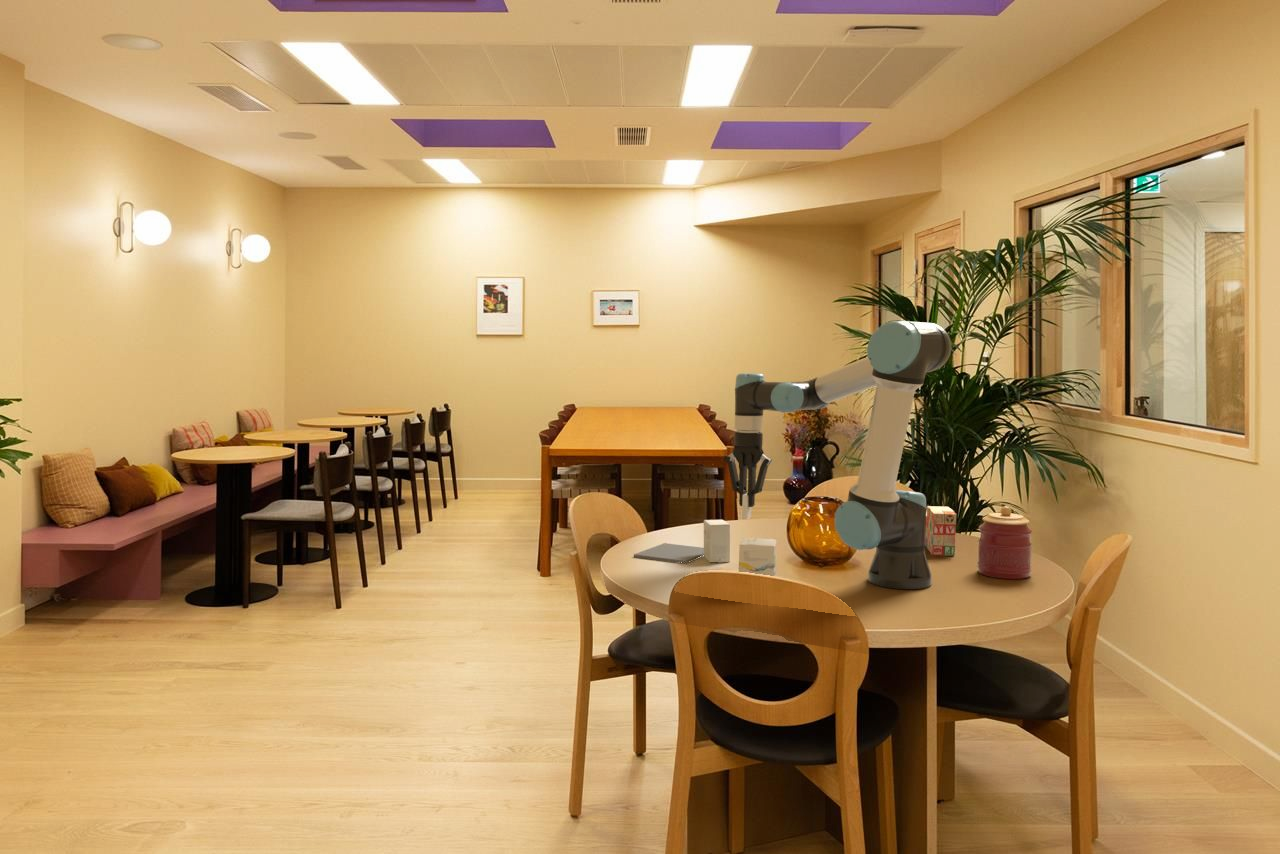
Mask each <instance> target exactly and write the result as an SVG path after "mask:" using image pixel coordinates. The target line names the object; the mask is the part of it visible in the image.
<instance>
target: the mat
mask: <svg viewBox="0 0 1280 854" xmlns="http://www.w3.org/2000/svg"><path fill="white" fill-rule="evenodd" d="M703 555H704V547H701V546H691V545H683V544H675V543H667V542H666V543H665V542H664V543H662V544H659V545H656V546H653V547H651V548H647V549H645V550H641V551H640V552H639V551H638V552H637V553H634V554H633V558H638V559H644V560H652V559H653V561H659V560H661V561H662V562H667V561H669V562H668V563H675V562H680V563H679V564H683V563H686V564H688V563H687V562H689V561H691V560H693V561H695V560H694V559H696V558H698V557H700V556H703ZM703 557H704V556H703ZM700 558H701V557H700ZM698 559H699V558H698ZM696 560H697V559H696ZM661 561H660V562H661ZM681 562H682V563H681ZM691 562H692V561H691ZM689 563H690V562H689Z"/></svg>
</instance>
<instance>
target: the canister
mask: <svg viewBox="0 0 1280 854" xmlns="http://www.w3.org/2000/svg"><path fill="white" fill-rule="evenodd" d="M982 521H983V523H982V524H980V525H979V526H978V529H979V531H980V536H979V538H978V539H977V541H978V556H977V557H978V559H977V560H978V561H977V566H976V567H977V570H978V573H979V574H981V575H984V576H986V577H991V578H995V579H996V578H997V579H1004V580H1021V579H1027V578H1029V577H1031V576H1030V575H1031V572H1032V566H1031V564H1032V563H1031V562H1032V561H1031V559H1032V546H1033V542H1032V541H1031V534H1033V532H1034V531H1033V529H1032V528H1031V527H1029V524H1030V520H1029V519H1027V518H1026V517H1024V515H1021V514H1019V513H1018V514H1017V513H1012V508H1011V507H1009V506H1008V505H1007V506H1006V505H1005V506H1002V507H1001V509H1000V512H990V513H988V514H987V515H985V516H983V517H982Z"/></svg>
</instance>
